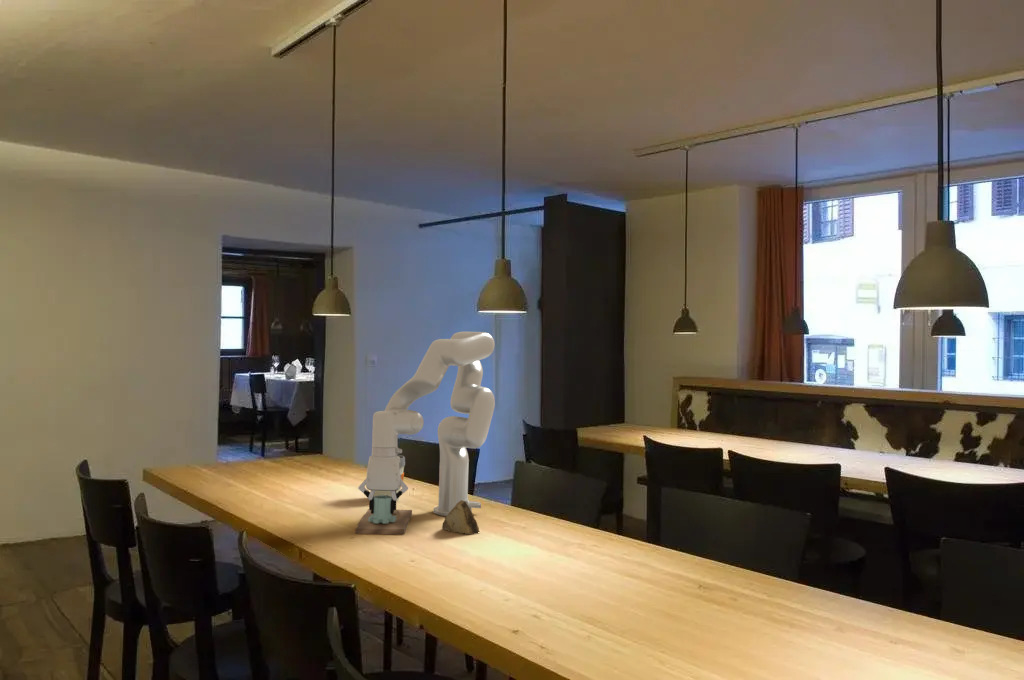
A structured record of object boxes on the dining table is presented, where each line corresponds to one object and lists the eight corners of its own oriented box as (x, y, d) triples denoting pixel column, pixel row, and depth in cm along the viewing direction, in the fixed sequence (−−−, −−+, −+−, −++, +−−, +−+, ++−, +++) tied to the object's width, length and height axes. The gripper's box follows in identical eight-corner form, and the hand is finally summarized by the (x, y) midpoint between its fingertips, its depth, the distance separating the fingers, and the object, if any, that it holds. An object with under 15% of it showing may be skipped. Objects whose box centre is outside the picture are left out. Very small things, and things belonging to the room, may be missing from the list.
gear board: (411, 514, 239) (412, 492, 239) (404, 534, 214) (404, 510, 214) (368, 513, 238) (369, 491, 239) (355, 533, 214) (356, 509, 214)
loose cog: (397, 517, 227) (398, 494, 227) (394, 523, 218) (395, 500, 218) (370, 516, 226) (371, 494, 226) (366, 523, 218) (367, 499, 218)
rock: (431, 522, 220) (449, 525, 212) (446, 497, 224) (463, 499, 216) (457, 541, 224) (475, 544, 216) (470, 516, 228) (489, 518, 220)
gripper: (414, 451, 227) (412, 510, 227) (357, 449, 226) (356, 509, 226) (411, 454, 219) (410, 516, 219) (353, 453, 218) (351, 515, 218)
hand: (382, 512), depth 222 cm, fingers closed on loose cog, 5 cm apart
